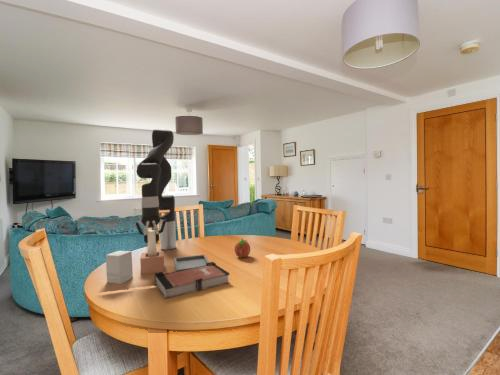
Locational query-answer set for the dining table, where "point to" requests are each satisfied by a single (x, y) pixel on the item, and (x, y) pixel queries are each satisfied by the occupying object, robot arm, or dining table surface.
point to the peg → (151, 243)
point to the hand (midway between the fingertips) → (151, 242)
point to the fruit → (242, 248)
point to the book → (190, 280)
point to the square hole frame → (152, 263)
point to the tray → (190, 262)
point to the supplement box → (119, 266)
